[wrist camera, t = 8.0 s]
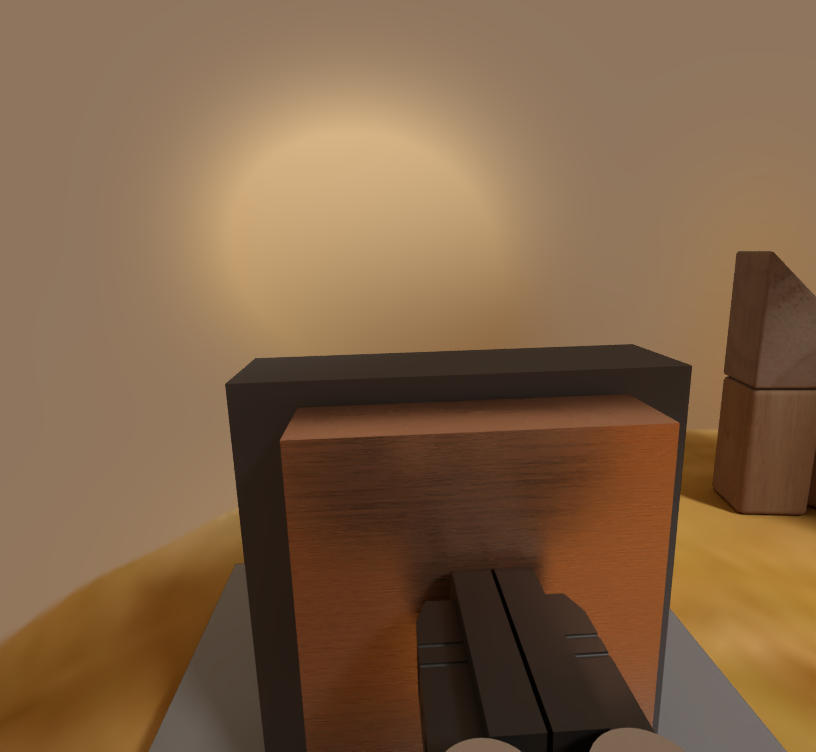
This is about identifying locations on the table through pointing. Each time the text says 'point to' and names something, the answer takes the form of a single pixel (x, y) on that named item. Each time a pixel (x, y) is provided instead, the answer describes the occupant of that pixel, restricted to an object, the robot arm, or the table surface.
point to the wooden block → (768, 391)
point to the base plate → (241, 716)
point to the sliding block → (466, 537)
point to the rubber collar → (392, 384)
